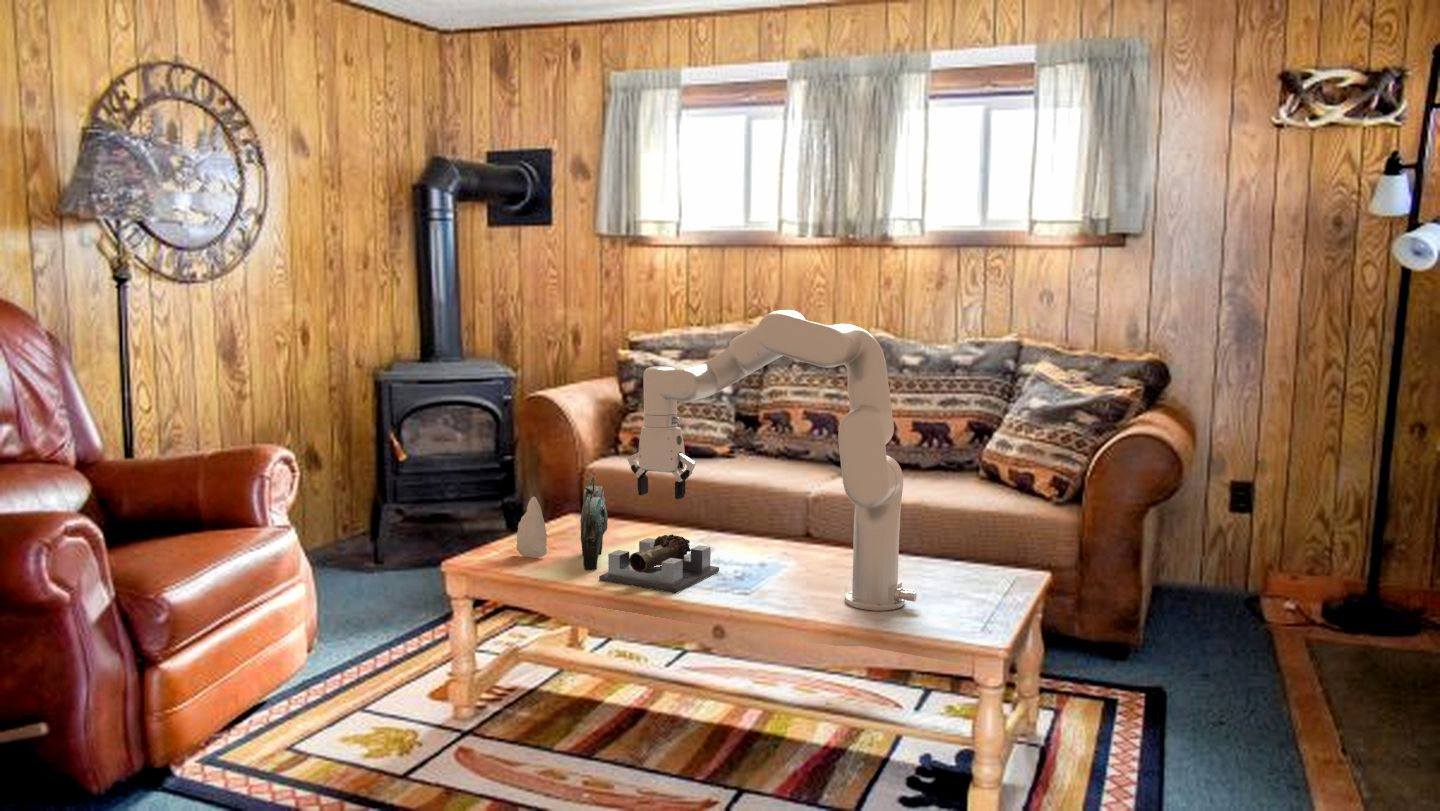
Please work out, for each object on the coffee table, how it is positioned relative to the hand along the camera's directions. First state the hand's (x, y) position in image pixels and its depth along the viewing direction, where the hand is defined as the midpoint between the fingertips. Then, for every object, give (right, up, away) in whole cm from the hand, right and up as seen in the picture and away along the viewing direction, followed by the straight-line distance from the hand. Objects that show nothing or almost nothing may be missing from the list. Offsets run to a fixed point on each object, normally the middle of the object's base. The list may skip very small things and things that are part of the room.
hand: (661, 496), depth 247 cm
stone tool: (-33, -17, +18) cm, 41 cm away
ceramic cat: (-17, -17, +16) cm, 29 cm away
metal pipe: (-1, -16, +2) cm, 16 cm away
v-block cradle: (0, -18, +2) cm, 19 cm away
